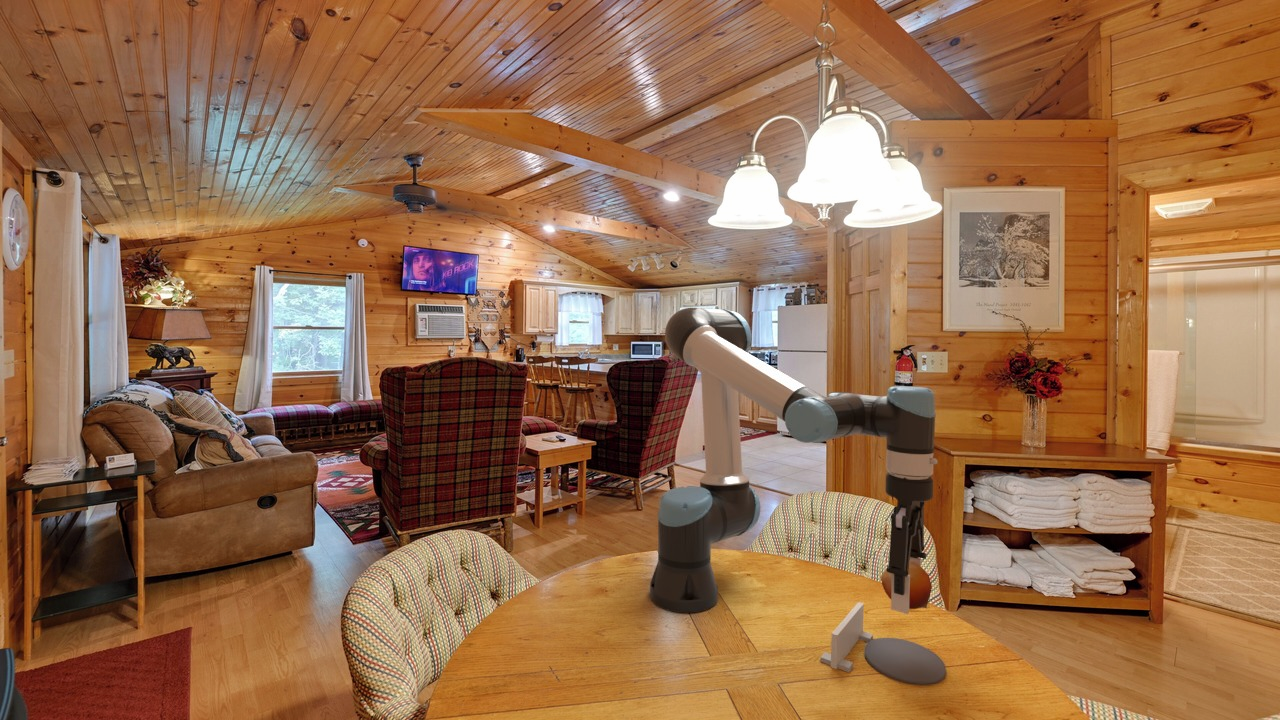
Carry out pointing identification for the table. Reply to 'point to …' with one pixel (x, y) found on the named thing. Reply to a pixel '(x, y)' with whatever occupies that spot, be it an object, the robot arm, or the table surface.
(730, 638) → the table surface
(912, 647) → the mat
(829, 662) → the wall
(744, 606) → the table surface
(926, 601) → the fruit
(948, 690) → the table surface
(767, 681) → the table surface
